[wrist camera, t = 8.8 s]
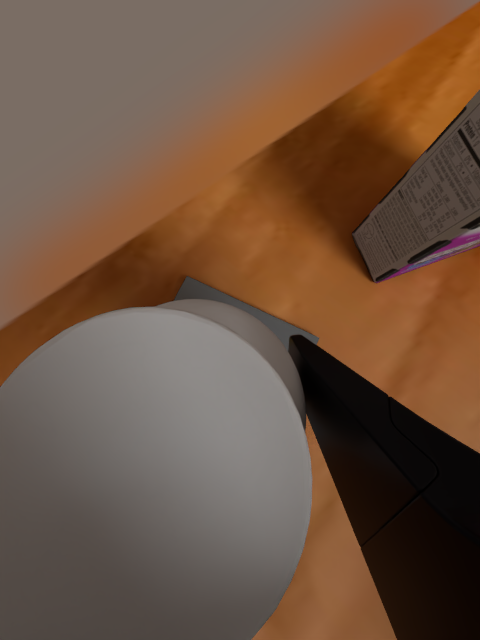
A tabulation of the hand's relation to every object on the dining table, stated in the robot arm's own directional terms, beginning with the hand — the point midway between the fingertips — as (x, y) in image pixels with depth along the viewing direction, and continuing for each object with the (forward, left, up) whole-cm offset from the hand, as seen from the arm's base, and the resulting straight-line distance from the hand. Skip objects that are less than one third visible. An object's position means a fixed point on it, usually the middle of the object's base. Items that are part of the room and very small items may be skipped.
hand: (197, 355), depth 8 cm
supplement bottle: (-1, -1, -8) cm, 8 cm away
